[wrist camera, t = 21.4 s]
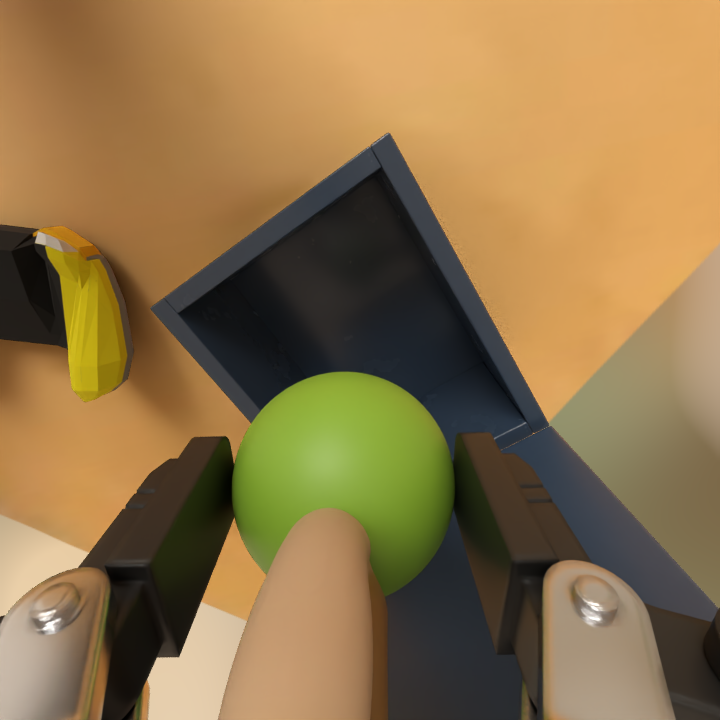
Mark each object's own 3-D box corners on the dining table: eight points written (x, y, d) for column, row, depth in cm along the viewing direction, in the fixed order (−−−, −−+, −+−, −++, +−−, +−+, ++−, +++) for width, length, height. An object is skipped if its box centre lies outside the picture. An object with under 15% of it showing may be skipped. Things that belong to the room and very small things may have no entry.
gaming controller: (155, 374, 29) (143, 233, 25) (111, 413, 24) (87, 243, 20) (-56, 351, 28) (-102, 203, 24) (-148, 386, 23) (-224, 205, 19)
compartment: (215, 273, 26) (148, 308, 18) (379, 154, 23) (389, 131, 15) (348, 441, 31) (344, 529, 23) (495, 359, 28) (550, 426, 20)
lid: (187, 1202, 6) (364, 1353, 7) (1209, 1140, 4) (1311, 1393, 4) (340, 529, 22) (389, 599, 23) (550, 424, 20) (598, 507, 20)
